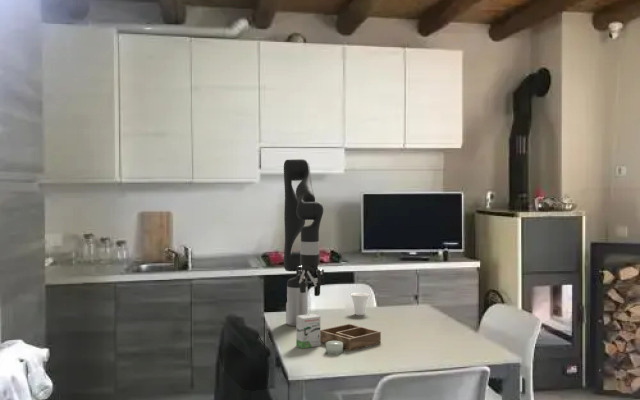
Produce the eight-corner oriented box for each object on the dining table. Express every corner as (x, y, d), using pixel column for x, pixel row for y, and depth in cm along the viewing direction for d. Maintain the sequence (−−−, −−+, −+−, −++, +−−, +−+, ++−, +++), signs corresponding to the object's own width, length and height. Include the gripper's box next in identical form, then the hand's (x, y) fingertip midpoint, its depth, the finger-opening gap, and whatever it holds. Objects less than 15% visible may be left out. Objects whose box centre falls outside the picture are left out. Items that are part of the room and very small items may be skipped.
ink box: (302, 349, 221) (302, 318, 221) (295, 346, 225) (295, 315, 225) (321, 345, 226) (321, 315, 225) (314, 342, 230) (314, 313, 229)
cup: (370, 316, 277) (370, 295, 277) (351, 316, 277) (351, 295, 277) (369, 312, 286) (369, 292, 286) (350, 312, 286) (350, 292, 286)
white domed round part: (322, 351, 217) (322, 342, 217) (335, 348, 221) (335, 339, 221) (333, 355, 212) (333, 346, 212) (346, 352, 216) (346, 343, 216)
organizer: (318, 341, 231) (318, 330, 231) (349, 334, 242) (349, 323, 242) (349, 351, 218) (349, 339, 218) (380, 343, 229) (380, 331, 229)
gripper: (290, 252, 228) (291, 293, 228) (314, 255, 217) (314, 298, 217) (305, 250, 232) (305, 290, 233) (329, 253, 222) (329, 295, 222)
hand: (310, 294), depth 225 cm, fingers open, 8 cm apart
